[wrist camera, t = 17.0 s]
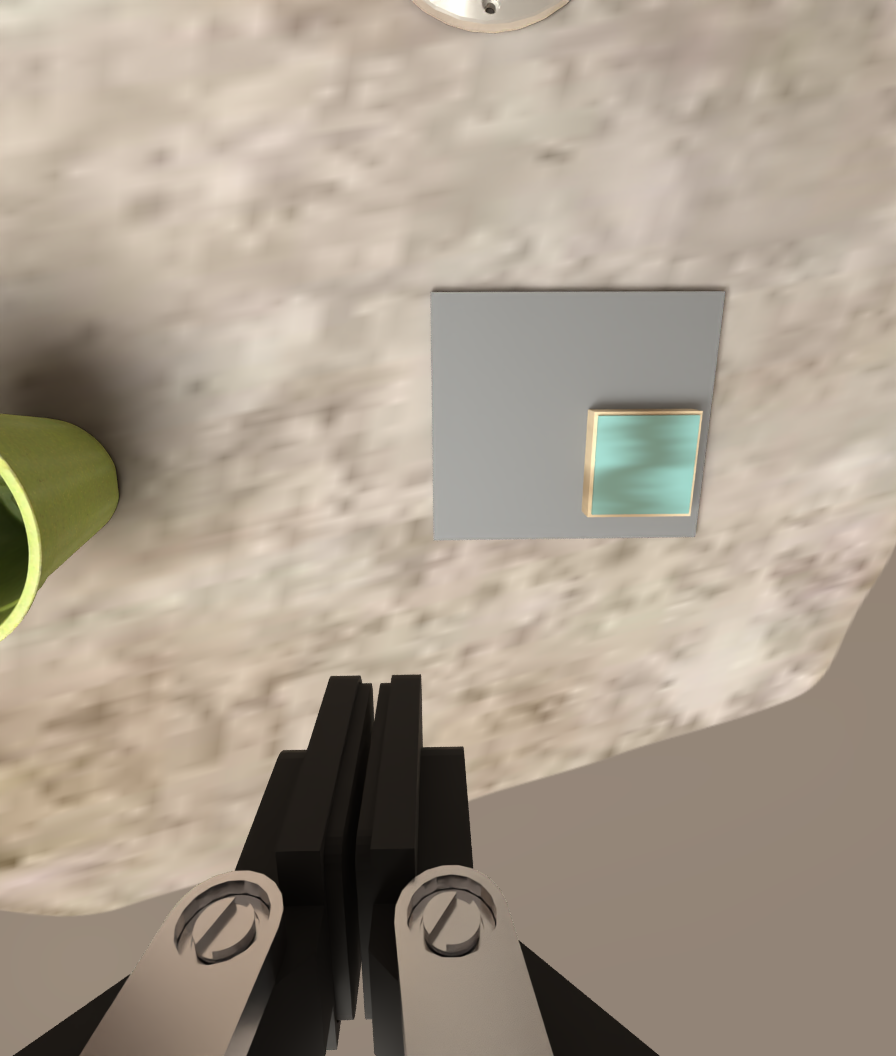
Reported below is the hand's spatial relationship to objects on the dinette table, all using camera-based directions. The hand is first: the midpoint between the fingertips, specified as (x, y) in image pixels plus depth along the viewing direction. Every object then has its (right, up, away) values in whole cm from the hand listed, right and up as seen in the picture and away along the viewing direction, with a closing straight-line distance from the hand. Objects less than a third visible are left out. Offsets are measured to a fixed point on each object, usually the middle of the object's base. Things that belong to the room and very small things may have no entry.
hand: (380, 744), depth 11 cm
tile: (+12, +5, +24) cm, 27 cm away
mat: (+8, +10, +23) cm, 27 cm away
